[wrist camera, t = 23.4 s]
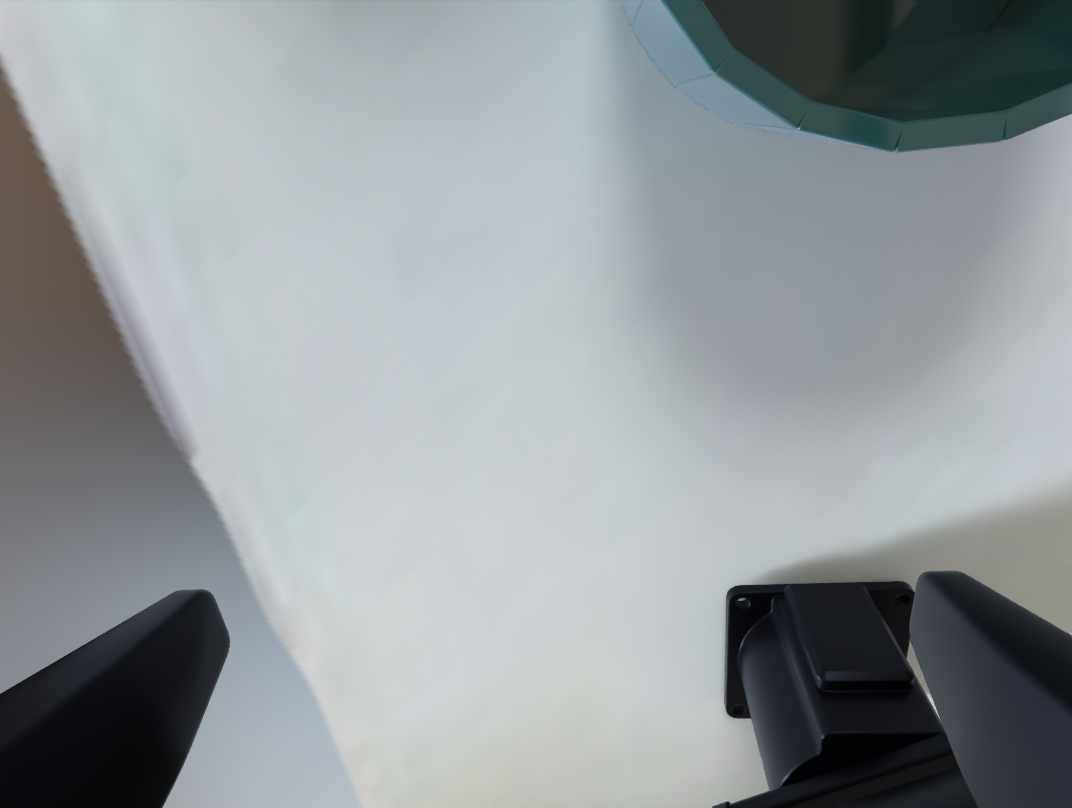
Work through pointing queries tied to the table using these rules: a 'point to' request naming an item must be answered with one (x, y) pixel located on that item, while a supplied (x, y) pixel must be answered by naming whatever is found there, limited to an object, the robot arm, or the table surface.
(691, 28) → the canister
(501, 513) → the table surface
